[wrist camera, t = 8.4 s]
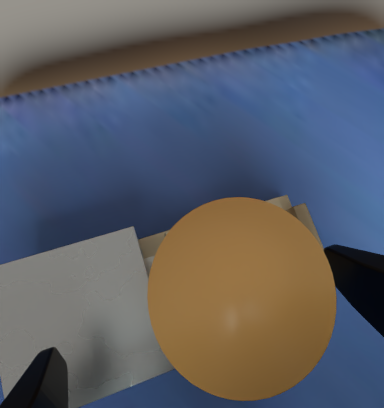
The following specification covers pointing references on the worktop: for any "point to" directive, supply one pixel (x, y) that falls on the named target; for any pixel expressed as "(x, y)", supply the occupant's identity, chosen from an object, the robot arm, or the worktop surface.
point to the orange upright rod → (241, 298)
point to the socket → (81, 316)
